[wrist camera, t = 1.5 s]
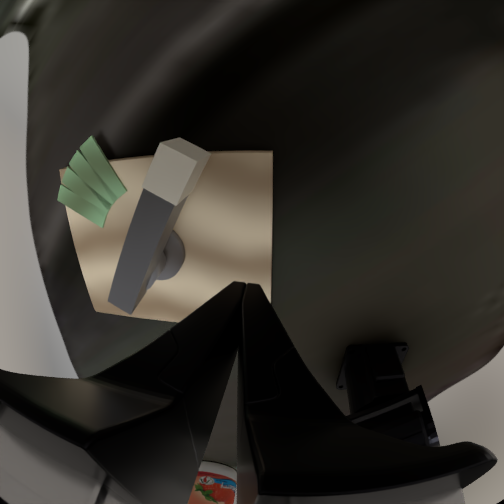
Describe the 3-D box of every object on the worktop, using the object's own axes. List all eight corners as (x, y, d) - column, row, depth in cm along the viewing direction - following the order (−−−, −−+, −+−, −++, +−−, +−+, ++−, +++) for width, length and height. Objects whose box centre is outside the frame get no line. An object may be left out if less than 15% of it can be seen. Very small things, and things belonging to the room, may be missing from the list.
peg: (158, 281, 21) (134, 318, 17) (131, 265, 21) (103, 299, 17) (221, 151, 16) (201, 163, 12) (186, 133, 16) (156, 140, 12)
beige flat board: (270, 320, 25) (269, 335, 23) (95, 303, 26) (86, 315, 25) (272, 118, 18) (271, 118, 16) (59, 142, 19) (44, 146, 17)
